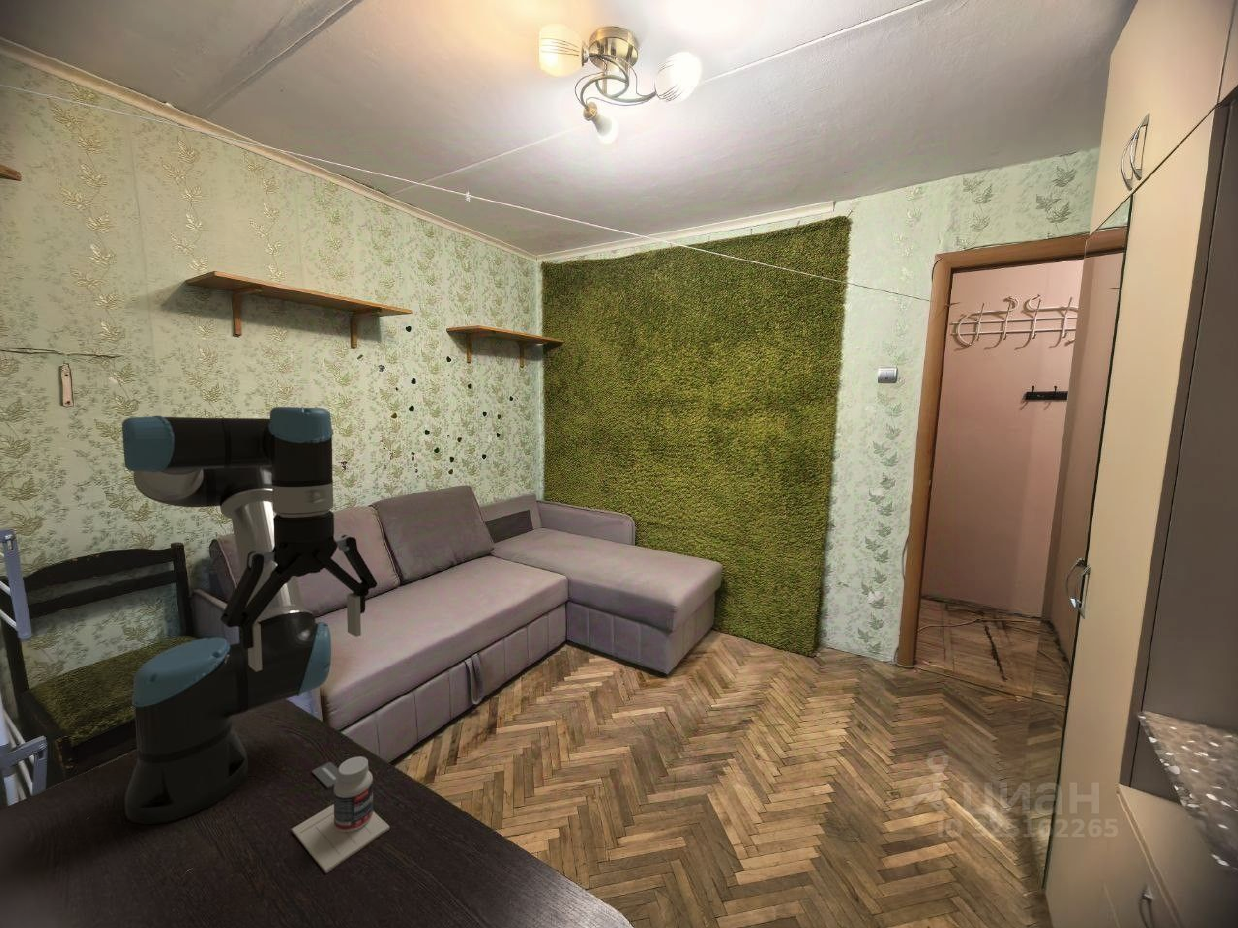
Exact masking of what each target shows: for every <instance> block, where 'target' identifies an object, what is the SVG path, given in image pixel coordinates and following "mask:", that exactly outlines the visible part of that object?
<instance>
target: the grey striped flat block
mask: <svg viewBox="0 0 1238 928" xmlns="http://www.w3.org/2000/svg"><path fill="white" fill-rule="evenodd" d="M338 769H339V767H337V766H336V765H335V764H334V763H333V762H331V761H328V762H326V763H324V764H323V765H321V766H318V767H317V768H315V769H312V770H311V773H312V775H314V776H315V777H316V779H317V780H318V781H320V782H321V783H322V784H323V786H325V788H327V789H330V788H332V787H334V786H335V783H336V781H337V780H338V779H339V778H338Z"/></svg>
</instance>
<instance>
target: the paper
mask: <svg viewBox="0 0 1238 928" xmlns="http://www.w3.org/2000/svg"><path fill="white" fill-rule="evenodd" d="M389 830H390V826H389V825H388V823H387V822H385V821H384V820H383V819H382V818H381V817H380V816H379V815H378V814H377V813H376V812H375V811H374V810H373V815H372V817H371V819H370V820H369V822H368V823H367V824H366V825H364V826H363V827H362V828H360V829H358V830H356V831H353V832H340V831H338V830H337V829H336V828H335V826H334V803H333V804H331V805H329V806H327V807H326V808H324V809H323V810H321V811H320V812H318V813H316V814H314V815H313V816H311V817H309V818H308V819H305V820H304V821H303V822H301V823H299V824H298V825H296V826H294V827H293V828H291V832H292V833H293V834H294V835H295V837H296V838H297V840H298V841H299V842H300V843H301V845H303V847H304V848H305V849H306V851H308V853H309V854H310V856H311V857H312V858H313V859H314V860H315V862H316V863H317V864H318V865H319V867H320V868H321V869H322V870H323V872H325V874H327V873H329V872H330V871H331V870H333V869H334V868H336V867H337V866H339V865H340V864H342V863H343V862H344V861H346V860H347V859H348V858H350V857H351V856H353V855H354V854H356V853H357V852H358V851H360V850H361V849H363V848H364V847H366V846H367V845H368V844H370V843H372V842H373V841H374V840H376V839H377V838H378V837H380V836H382V835H383V834H384V833H386V832H387V831H389Z"/></svg>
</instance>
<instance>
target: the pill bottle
mask: <svg viewBox="0 0 1238 928" xmlns="http://www.w3.org/2000/svg"><path fill="white" fill-rule="evenodd" d="M338 778H339V779H338V780H337V781H336V783H335V785H334V786H333V804H334V826H335V828H336V829H337V830H338V831H340V832H353V831H356V830H358V829H360V828H362V827H363V826H364V825H366V824H367V823H368V822H369V820H370V819H371V817H372V815H373V811H374V782H373V781H374V779H373V778H374V777H373V774H372V772H371V771H370V770H369V760H368V759H367V758H366V757H365V756H359V755H358V756H353V757H350V758H348V759H346V760H345V761H343V762H342V763H341V764H340V765H339V766H338Z"/></svg>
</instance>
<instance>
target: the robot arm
mask: <svg viewBox="0 0 1238 928" xmlns="http://www.w3.org/2000/svg"><path fill="white" fill-rule="evenodd" d="M332 427H333V426H332V419H331V413H330V411H328V409H326V408H321V407H318V408H317V407H316V408H315V407H295V406H294V407H292V406H291V407H290V406H276V407H273V408H272V409H271V410H270V411H269V418H268V417H267V418H266V417H265V418H263V417H261V418H259V417H258V418H256V417H255V418H253V417H252V418H251V417H192V416H191V417H181V416H161V415H151V416H139V417H138V416H137V417H136V416H134V417H133V416H131V417H127V418H126V419H124V420H123V421H122V423H121V433H122V434H121V435H122V449H123V462H124V463H123V464H124V467H125V469H127V470H129V471H130V472H133V481H134V484H135V487H136V488H137V490H138V491H139V492H140V493H141V494H142V495H143V496H144V497H146V498H147V499H150V500H152V501H155V502H158V503H161V504H164V505H169V506H174V507H180V508H209V507H210V508H211V507H220V513H221V515H223V516H224V517H225V518H227V519H230V520H231V521H232V528H233V535H234V539H235V540H234V541H235V546H236V551H237V552H236V553H237V558H238V565H239V571H240V576H241V577H240V579H239V581H238V583H237V585H236V587H235V589H234V590H233V593H232V595H231V597H230V599H229V601H228V602H227V604H226V606H225V609H224V611H223V612H222V614H221V616H220V621H221V622H222V623H223V624H224V625H225V626H227V627H228V628H234V627H238V642H237V643H233V644H230V643H229V642H228V640H227V639H225V638H223V637H218V636H217V637H215V636H214V637H211V638H207V637H204V638H199V639H195V640H191V641H188V642H187V641H186V642H184V643H182V644H178V645H176V646H173V647H170V648H169V649H166V650H165V651H162V652H160V653H158V654H157V655H155V656H153V657H152V658H151V659H149V660H147V661H146V662H145V663H144V664H142V665H141V666H140V667H139V669H138V670H137V671H136V673H135V675H134V678H133V694H132V698H131V705H132V706H133V707H134V712H135V713H134V716H135V719H134V720H135V733H136V734H135V735H136V748H137V750H136V751H137V761H136V764H135V766H134V769H133V771H132V775H131V777H130V781H129V783H128V786H127V788H126V792H125V795H124V811H125V816H126V818H127V819H128V820H129V821H131V822H133V823H135V824H140V825H156V824H158V825H159V824H164V823H169V822H172V821H176V820H180V819H184V818H185V817H188V816H191V815H193V814H195V813H196V814H197V813H198V812H200V811H203V810H204V809H206V808H208V807H211V806H213V805H214V804H216V803H217V802H219V801H220V800H222V799H223V798H225V797H226V796H227V795H229V794H230V793H231V792H233V791H234V790H235V789H236V788H237V786H238V787H239V785H240V784H241V783H242V781H243V780H244V779H245V776H246V775H247V772H248V768H249V767H248V766H249V765H248V754H247V752H246V749H245V747H244V746H243V743H242V742H241V741H240V738H239V737H238V735H237V733H236V731H235V729H234V726H233V724H234V723H233V717H235V716H237V715H241V714H243V713H247V712H250V711H253V710H255V709H259V708H262V707H265V706H268V705H270V704H271V705H272V704H275V703H278V702H280V701H283V700H287V699H290V698H293V697H295V696H297V697H299V696H301V695H302V694H304V693H307V692H309V691H313V690H315V689H318V688H319V687H321V686H322V685H324V683H325V682H326V681H327V679H328V678H329V677H328V676H329V673H330V668H331V661H332V660H331V659H332V640H331V631H330V627H329V626H328V623H327V622H326V621H323V622H322V621H318V622H316V618H315V614H314V612H312V611H310V610H307V609H306V608H304V607H303V602H302V597H301V593H300V588H299V584H298V578H300V577H304V576H306V575H309V574H317V573H321V571H322V570H324V569H325V570H326V571H328V572H329V573H330V574H331V575H332V576H333V577H335V578H336V579H337V580H338V581H340V582H341V583H342V584H343V585H345V586H346V587H347V588H348V589H350V590H351V591H352V592H350V593H347V594H346V608H347V609H346V610H347V612H346V613H347V618H346V619H347V633H349V634H350V635H352V636H354V637H356V638H357V637H360V636H361V635H362V634H361V633H362V631H361V627H362V626H361V625H362V624H361V614H364V613H365V612H366V596H368V595H369V593H370V589H375V588H376V587H377V586H378V582H377V580H376V578H375V577H374V576H373V574H372V571H371V570H370V568H369V566H368V565H367V563H366V562H365V560H364V559H363V556H362V555H361V553H360V551H359V550H358V546H357V539H356V538H355V537H353V536H350V535H347V534H344V535H342V536H341V537H340V538H338V539H335V537H334V536H335V515H334V513H333V512H332V510H331V509H333V507H334V482H333V481H334V480H333V474H334V473H333V434H334V429H333V428H332ZM336 550H339V551H341V552H343V554H344V556H345V558H346V559H347V561H348V562H349V563H350V565H351V567H352V569H353V570H354V572H355V574H356V575H357V577H358V578H359V580H360V581H361V582H359V581H357V580H356V579H355V578H354V577H353V576H352V575H351V574H349V573H348V572H347V571H346V570H344V568H342V567H341V566H340V565H339V563H337V562H336V561H335V560H333V558H332V557H333V556H334V554H335V552H336Z"/></svg>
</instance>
